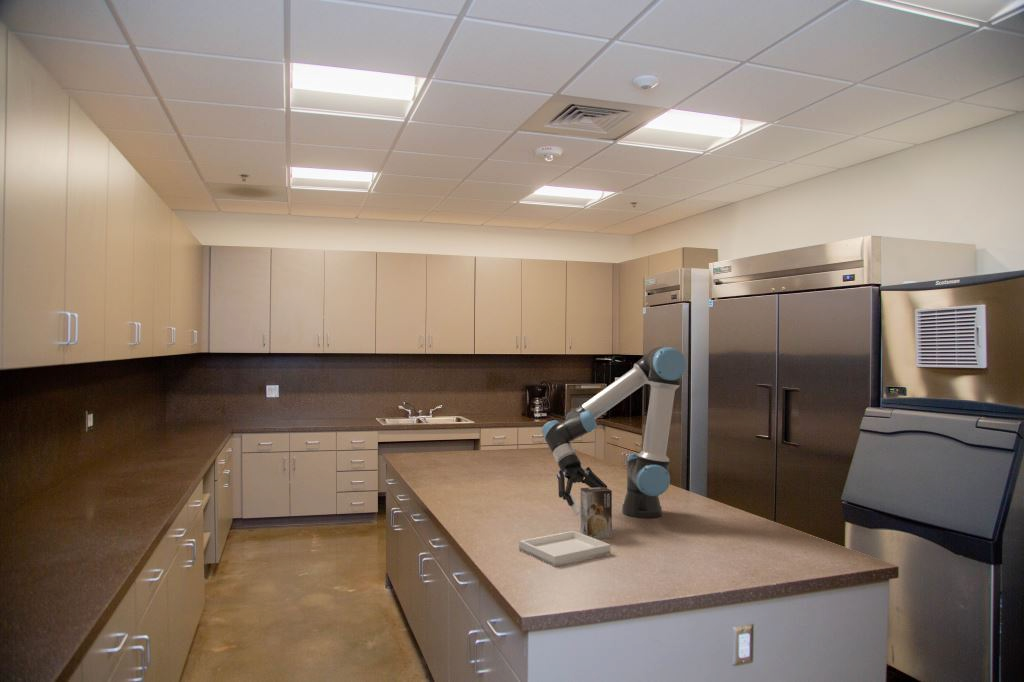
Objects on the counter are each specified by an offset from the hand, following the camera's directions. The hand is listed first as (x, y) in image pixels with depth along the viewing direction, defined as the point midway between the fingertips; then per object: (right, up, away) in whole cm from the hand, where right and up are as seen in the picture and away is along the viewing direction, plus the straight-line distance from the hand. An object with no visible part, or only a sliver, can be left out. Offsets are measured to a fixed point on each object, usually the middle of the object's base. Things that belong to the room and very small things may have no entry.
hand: (593, 510), depth 222 cm
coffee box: (+1, -9, 0) cm, 9 cm away
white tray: (-11, -8, -18) cm, 23 cm away
